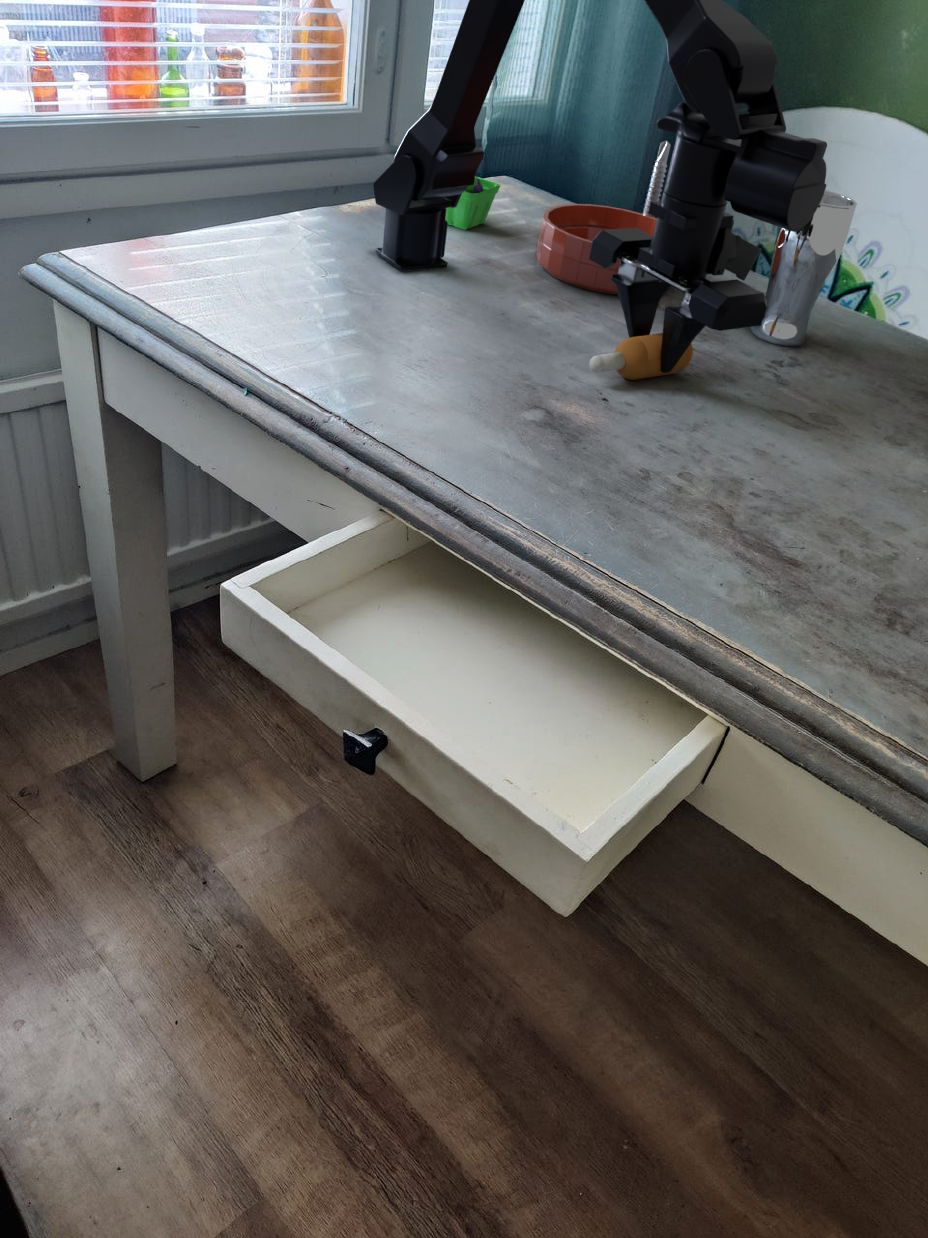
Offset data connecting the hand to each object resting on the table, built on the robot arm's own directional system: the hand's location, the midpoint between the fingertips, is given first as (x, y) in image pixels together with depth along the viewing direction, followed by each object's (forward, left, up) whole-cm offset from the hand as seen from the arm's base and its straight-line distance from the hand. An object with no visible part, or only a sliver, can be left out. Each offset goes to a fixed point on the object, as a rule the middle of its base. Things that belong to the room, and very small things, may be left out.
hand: (651, 362), depth 94 cm
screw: (+28, +34, -1) cm, 44 cm away
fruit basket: (+5, +48, -1) cm, 48 cm away
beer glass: (+23, +4, -1) cm, 23 cm away
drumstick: (-2, 0, -1) cm, 2 cm away
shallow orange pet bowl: (+15, +26, -1) cm, 30 cm away
